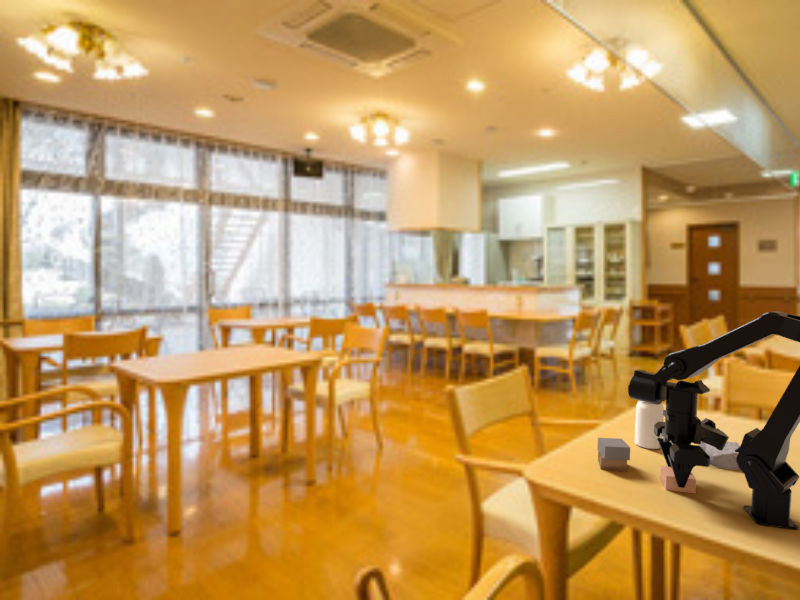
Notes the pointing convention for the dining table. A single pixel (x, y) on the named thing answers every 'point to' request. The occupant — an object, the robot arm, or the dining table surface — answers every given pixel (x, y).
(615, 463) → the walnut block
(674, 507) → the dining table surface
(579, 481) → the dining table surface
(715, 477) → the dining table surface
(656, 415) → the can
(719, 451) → the stone block
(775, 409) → the robot arm
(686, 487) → the terracotta block
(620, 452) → the gray block
